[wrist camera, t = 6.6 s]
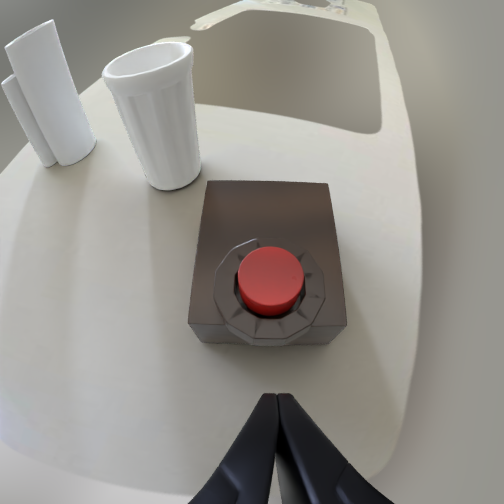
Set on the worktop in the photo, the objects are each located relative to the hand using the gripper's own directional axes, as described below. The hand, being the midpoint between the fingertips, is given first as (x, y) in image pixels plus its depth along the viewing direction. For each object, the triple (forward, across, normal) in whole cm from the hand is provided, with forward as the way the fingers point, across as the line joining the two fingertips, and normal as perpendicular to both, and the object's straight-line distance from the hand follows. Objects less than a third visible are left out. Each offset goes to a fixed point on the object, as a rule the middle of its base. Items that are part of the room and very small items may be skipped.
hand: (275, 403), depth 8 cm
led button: (+10, 0, 0) cm, 10 cm away
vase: (+31, +29, -12) cm, 44 cm away
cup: (+26, +10, -7) cm, 29 cm away
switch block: (+17, 0, +2) cm, 17 cm away
